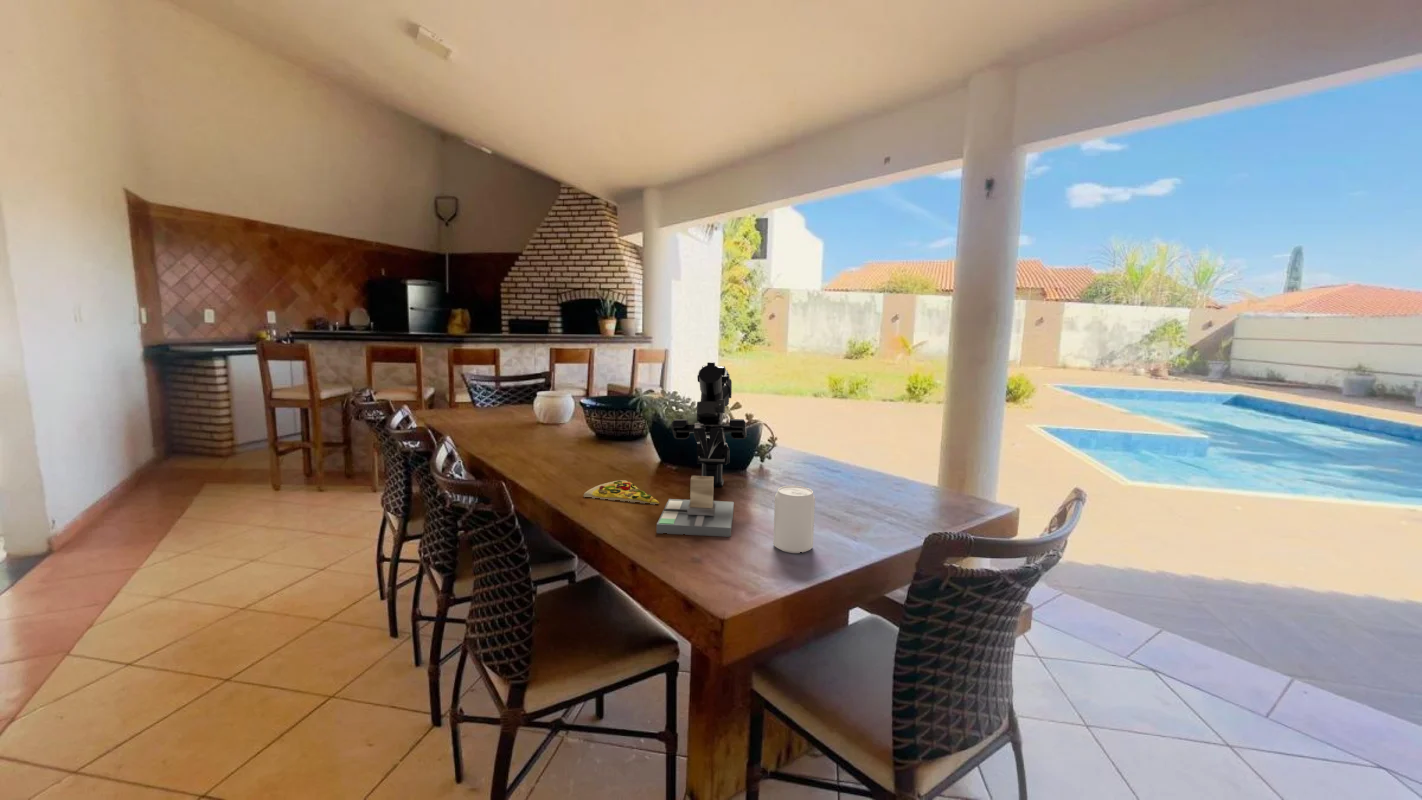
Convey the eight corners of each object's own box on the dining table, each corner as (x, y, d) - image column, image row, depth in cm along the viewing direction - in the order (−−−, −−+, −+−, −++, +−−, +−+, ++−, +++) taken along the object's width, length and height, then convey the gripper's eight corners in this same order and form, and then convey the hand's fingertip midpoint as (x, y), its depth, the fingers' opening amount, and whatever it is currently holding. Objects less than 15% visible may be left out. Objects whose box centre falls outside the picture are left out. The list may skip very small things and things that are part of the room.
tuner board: (668, 506, 142) (669, 497, 141) (733, 509, 140) (733, 500, 140) (656, 533, 124) (656, 522, 124) (730, 536, 123) (730, 526, 122)
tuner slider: (665, 507, 134) (666, 473, 133) (715, 509, 133) (716, 475, 132) (662, 514, 129) (662, 479, 128) (713, 516, 128) (714, 481, 127)
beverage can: (784, 536, 123) (786, 482, 122) (819, 545, 119) (822, 489, 117) (765, 548, 117) (767, 491, 115) (801, 558, 112) (804, 499, 111)
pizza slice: (621, 485, 161) (621, 475, 161) (678, 500, 149) (678, 489, 149) (579, 498, 149) (579, 487, 149) (637, 515, 137) (637, 503, 137)
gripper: (670, 388, 144) (664, 441, 136) (744, 387, 142) (742, 442, 133) (677, 412, 154) (671, 464, 145) (747, 412, 151) (745, 464, 142)
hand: (706, 458), depth 141 cm, fingers closed
